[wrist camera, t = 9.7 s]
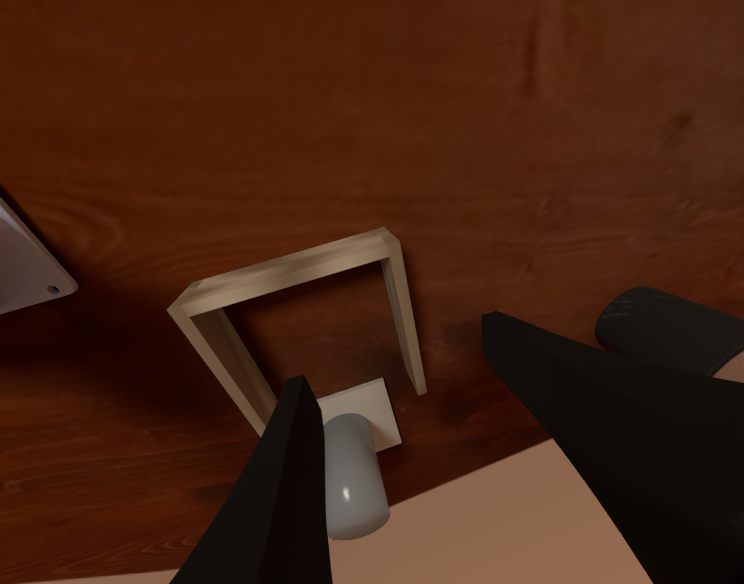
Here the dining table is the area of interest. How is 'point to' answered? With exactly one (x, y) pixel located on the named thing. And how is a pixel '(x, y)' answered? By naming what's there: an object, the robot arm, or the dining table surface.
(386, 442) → the coaster
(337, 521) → the grey domed cylinder
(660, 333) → the travel mug
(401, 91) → the dining table surface
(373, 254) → the frame
